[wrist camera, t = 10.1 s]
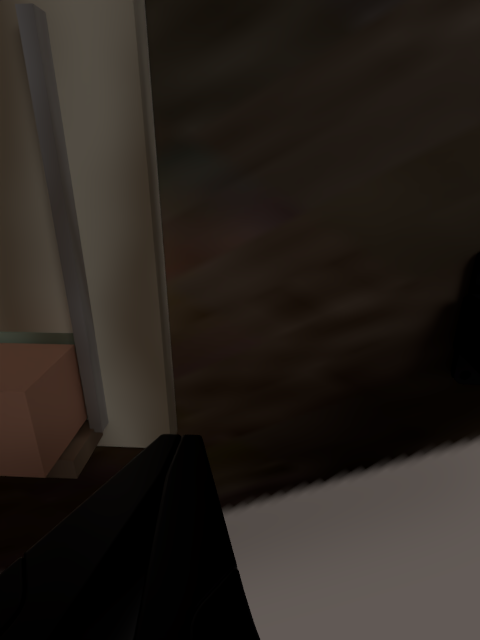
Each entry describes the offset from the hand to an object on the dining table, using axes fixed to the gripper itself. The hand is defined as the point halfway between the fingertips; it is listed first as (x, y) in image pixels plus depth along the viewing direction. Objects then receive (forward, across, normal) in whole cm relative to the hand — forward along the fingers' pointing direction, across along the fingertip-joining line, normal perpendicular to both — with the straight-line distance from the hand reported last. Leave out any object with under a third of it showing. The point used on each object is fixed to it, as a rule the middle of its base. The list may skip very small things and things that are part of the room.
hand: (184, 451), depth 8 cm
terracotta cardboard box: (+9, +9, +4) cm, 14 cm away
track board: (+11, +9, -2) cm, 14 cm away
